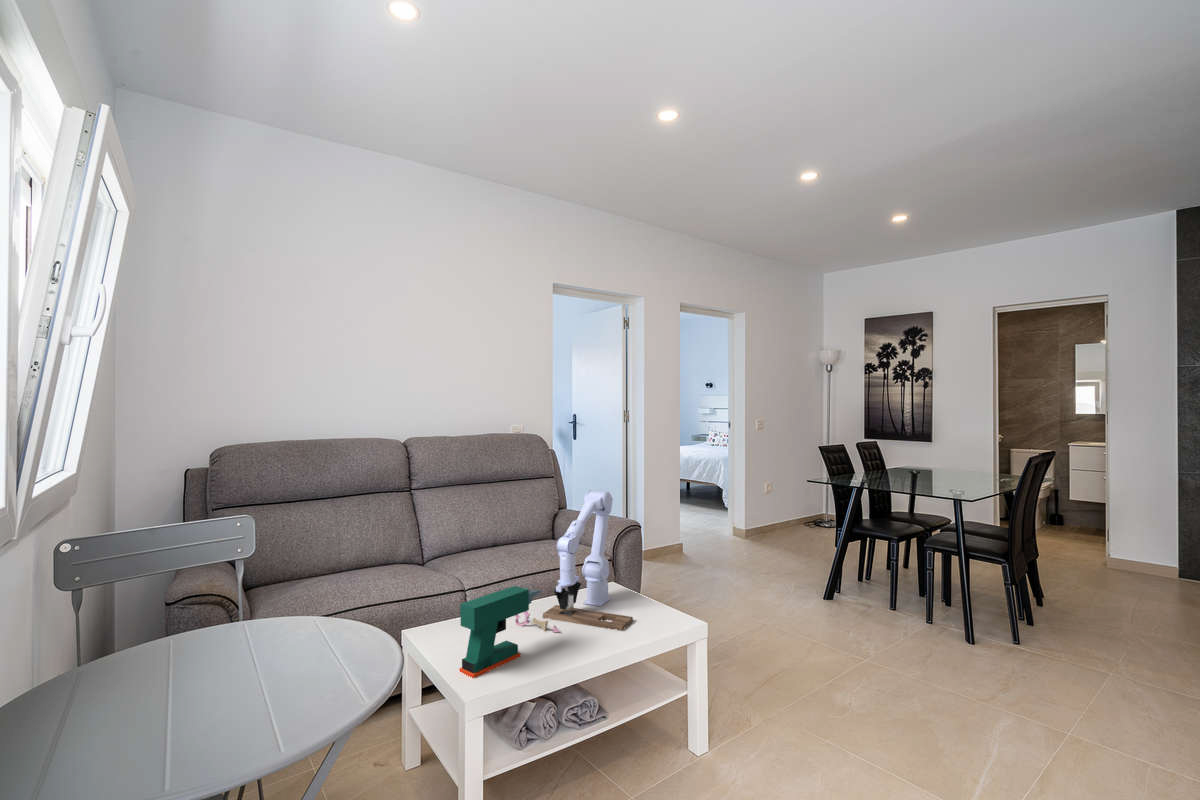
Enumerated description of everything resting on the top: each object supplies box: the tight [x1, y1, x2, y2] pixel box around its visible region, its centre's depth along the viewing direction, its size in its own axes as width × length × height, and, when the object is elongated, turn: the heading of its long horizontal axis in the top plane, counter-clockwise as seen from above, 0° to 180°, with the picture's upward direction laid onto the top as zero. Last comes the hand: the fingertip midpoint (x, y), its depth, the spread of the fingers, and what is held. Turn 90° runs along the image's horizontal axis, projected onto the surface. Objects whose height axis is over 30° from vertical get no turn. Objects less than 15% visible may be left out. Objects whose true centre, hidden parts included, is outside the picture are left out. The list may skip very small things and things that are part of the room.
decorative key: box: [514, 611, 562, 634], centre depth 202 cm, size 7×1×20 cm
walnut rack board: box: [542, 604, 634, 631], centre depth 210 cm, size 10×32×2 cm, turn 65°
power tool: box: [459, 585, 543, 679], centre depth 180 cm, size 32×7×20 cm, turn 141°
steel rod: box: [564, 593, 575, 616], centre depth 213 cm, size 4×4×8 cm
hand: (568, 605), depth 213 cm, fingers open, 7 cm apart
